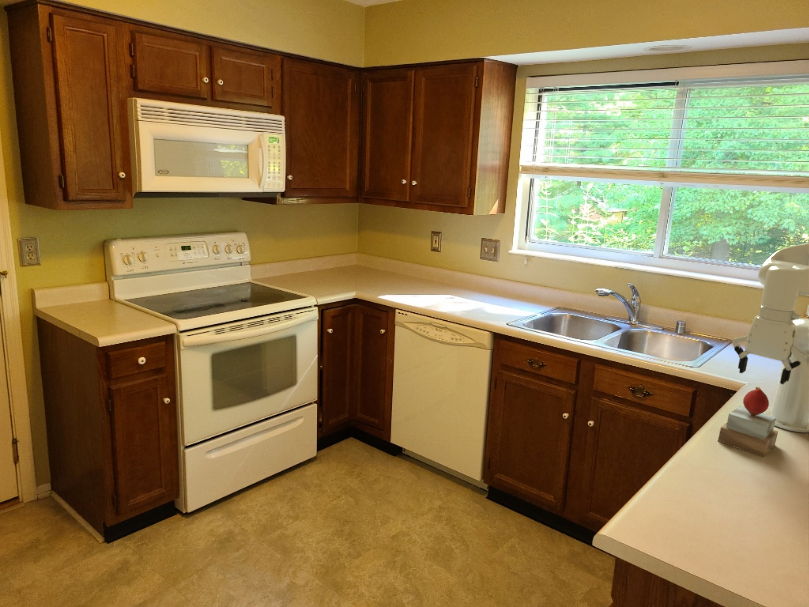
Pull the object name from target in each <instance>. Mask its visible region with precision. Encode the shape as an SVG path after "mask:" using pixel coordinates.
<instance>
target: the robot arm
mask: <svg viewBox="0 0 809 607" xmlns="http://www.w3.org/2000/svg"><path fill="white" fill-rule="evenodd" d="M757 276H758V281H759V283H760V284H761V285H762V286H763V289H762V296H761V301H760V306H759V310H758V314H757V315H755V316H754V318H753V321H752V323H751V326H750V328H749V331H748V335H745V336H740V337H734V338H733V339H731V343H732V345H733V349H734V352H735V353H736V354H737V355H738V358H739V360H738V366H737V369H739V372H738V373H739V374H743V373H744V372H746V370H747V366H748V361H749V357H748V355H754V356H757V357H758V356H759V357H762V358H767V359H771V360H775V361H779V362H781V363H782V365H781V369H780V373H779V378H778V382H777V386H776V391H775V393H774V394H775V395H774V398H773V403H772V408H771V411H767V412H766V411H765V412H764V414H768V415H771V416H774V417H776V420H775V424H774V427H778V428H780V429H783V430H786V431H791V432H796V433H809V318H803V317H802V318H801V315H800V314H798V313H796V312H795V311H796V305H797V304H796V303H797V299H798V297H799V295H801V296H809V242H805V243H800V244H796V245H791V246H789V247H784V248H781V249H780V250H777V251H776V252H774V253H773V254H772V255H771V256H769V257H768V258H767V259H766V260H765V261H764V263H763V264H762V265H761V266H760V269H759V270H758V275H757ZM806 314H807V316H808V317H809V304H808V305H807V308H806ZM742 342H745V346H744V349H745V350H744V349H743V347H741V345H740V344H741V343H742Z"/></svg>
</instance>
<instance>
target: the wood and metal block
mask: <svg viewBox="0 0 809 607" xmlns="http://www.w3.org/2000/svg"><path fill="white" fill-rule="evenodd" d="M775 420H776V417H774V416H771V415H768V414H765V412H763V413H761V414H759V415H755V416H753V415H751V414H750V413H749V412H748V410H747V409H746V408H745V407H744V406H741V405H739V406H738V407H736V408H735V409H733V410H732V411H731V412H729V413H728V417H727V422H726V423H724V424H723V425H721V427H720V430H719V433H718V438H717V439H718V440H717V442H719V441H721V442H720V443H722V442H724V443H723V444H725V443H726V444H725V445H728V444H729V445H728V446H730V445H732V446H731V447H733V446H735V447H734V448H736V447H738V448H737V449H739V448H740V450H742V449H743V450H742V451H745V452H748V453H751V454H754V455H757V456H759V457H761V458H763V457H764V456H766V454H768V453H769V451H771V450H772V448H774V447H775V445H776V441H777V438H778V434H779V433H778V432H779V431H778V430H775V428H774V427H775V425H774V424H775Z"/></svg>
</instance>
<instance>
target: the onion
mask: <svg viewBox="0 0 809 607" xmlns="http://www.w3.org/2000/svg"><path fill="white" fill-rule="evenodd" d="M742 400H743V401H742V403H743V407H745V408H746V409H747V410H748V412H749V413H750V414H751V415H753V416H755V415H759V414H761V413H766V411H767V410H768V408H769V405H770V402H769V398H768V396H767V394H766V393H765V392H764V391H763V390H762V389H761V388H760V386H755V389H753V390H750V391H749V392H747V393H746V394H745V395H744V397H743V399H742Z"/></svg>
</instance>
